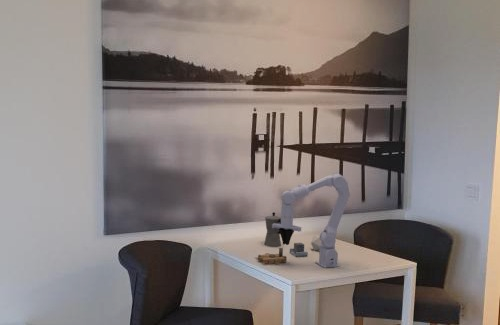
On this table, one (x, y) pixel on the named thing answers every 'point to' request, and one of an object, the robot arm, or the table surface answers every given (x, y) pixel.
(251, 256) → the table surface
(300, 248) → the dark grey block
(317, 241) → the grey faceted polyhedron
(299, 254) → the seat
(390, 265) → the table surface
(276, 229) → the coffeepot
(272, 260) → the sprocket
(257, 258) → the thin square base plate
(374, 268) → the table surface
